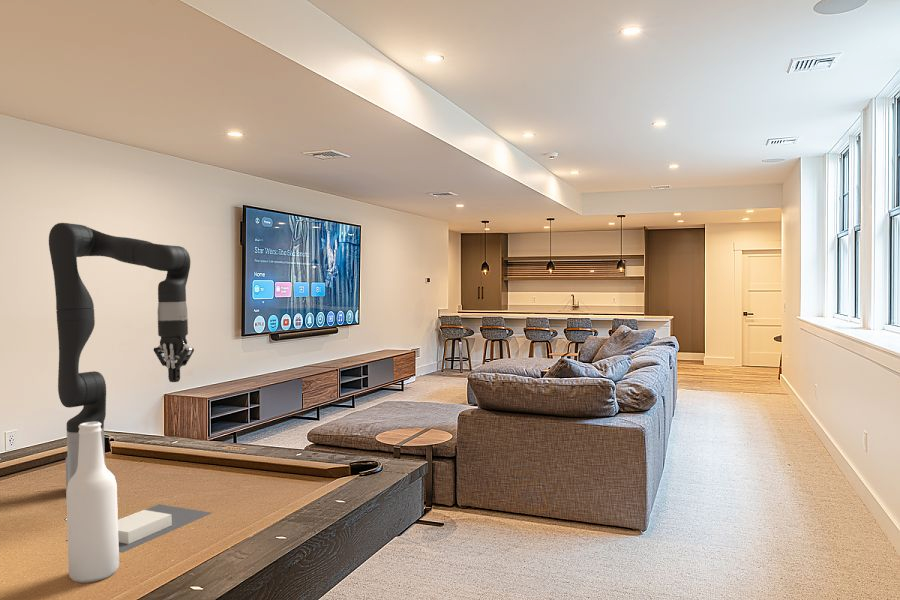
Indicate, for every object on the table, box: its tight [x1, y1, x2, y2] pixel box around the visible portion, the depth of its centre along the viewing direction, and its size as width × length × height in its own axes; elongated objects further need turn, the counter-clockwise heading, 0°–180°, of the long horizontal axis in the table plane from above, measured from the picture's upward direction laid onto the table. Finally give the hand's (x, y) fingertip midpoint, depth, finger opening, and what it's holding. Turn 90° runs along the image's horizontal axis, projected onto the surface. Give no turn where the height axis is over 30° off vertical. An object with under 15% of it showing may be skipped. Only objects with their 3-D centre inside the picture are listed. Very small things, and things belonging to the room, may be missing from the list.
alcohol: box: [65, 422, 120, 584], centre depth 129 cm, size 9×9×30 cm
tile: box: [118, 509, 172, 544], centre depth 151 cm, size 9×3×12 cm
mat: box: [65, 503, 212, 553], centre depth 155 cm, size 18×26×1 cm
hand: (174, 381), depth 179 cm, fingers closed
